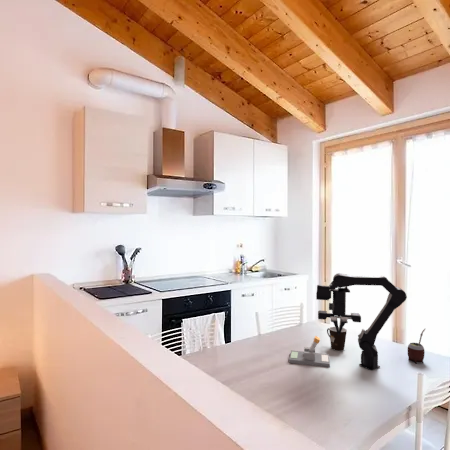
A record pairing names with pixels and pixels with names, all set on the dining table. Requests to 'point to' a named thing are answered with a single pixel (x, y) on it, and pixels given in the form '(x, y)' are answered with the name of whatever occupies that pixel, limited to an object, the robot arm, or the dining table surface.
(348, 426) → the dining table surface
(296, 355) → the switch panel
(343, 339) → the coffee mug
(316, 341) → the lever
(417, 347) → the mate gourd
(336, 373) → the dining table surface
